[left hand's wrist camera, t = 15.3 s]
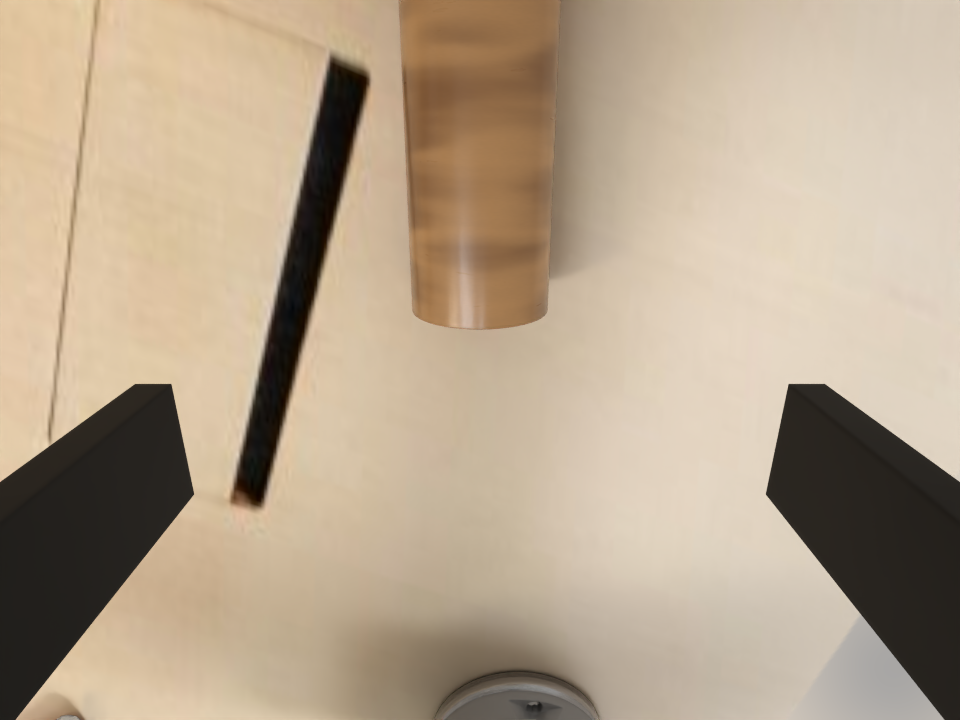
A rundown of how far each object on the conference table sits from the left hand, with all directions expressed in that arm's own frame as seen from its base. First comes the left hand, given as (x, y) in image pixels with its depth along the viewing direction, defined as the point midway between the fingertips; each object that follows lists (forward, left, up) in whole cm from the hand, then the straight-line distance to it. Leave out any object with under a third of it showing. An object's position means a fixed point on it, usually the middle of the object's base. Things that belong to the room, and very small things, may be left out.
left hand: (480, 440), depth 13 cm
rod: (+8, -5, -26) cm, 28 cm away
